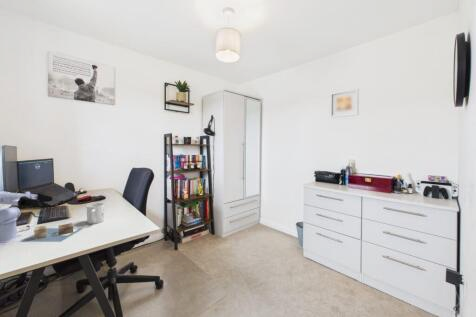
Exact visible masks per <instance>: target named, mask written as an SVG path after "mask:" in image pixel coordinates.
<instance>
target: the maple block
mask: <svg viewBox="0 0 476 317" xmlns="http://www.w3.org/2000/svg"><path fill="white" fill-rule="evenodd" d="M47 228H48V226H47V224H46V225H41V226H35V227H34V228H33V229H34V230H33V235H34V239H35V240H36V239H41V238H46V237H47Z"/></svg>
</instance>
